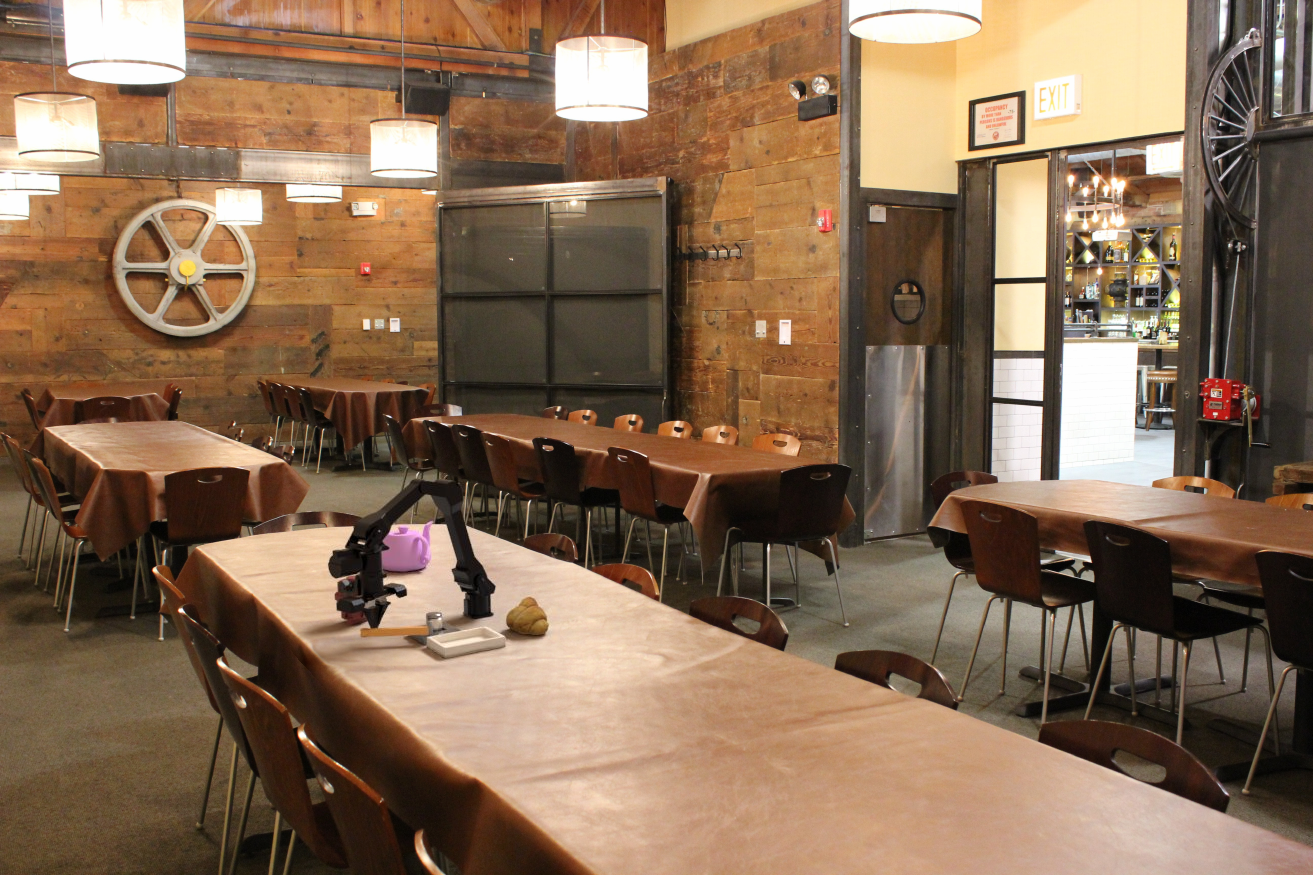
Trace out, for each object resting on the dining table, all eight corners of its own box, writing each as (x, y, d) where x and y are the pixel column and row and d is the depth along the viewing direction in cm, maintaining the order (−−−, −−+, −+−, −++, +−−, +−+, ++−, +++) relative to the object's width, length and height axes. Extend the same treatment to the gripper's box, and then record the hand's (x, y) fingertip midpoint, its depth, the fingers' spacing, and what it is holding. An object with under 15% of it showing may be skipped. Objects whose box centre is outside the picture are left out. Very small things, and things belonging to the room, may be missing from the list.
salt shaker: (438, 633, 278) (438, 610, 278) (445, 637, 275) (444, 614, 274) (424, 636, 276) (423, 613, 275) (430, 639, 273) (429, 616, 272)
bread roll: (556, 634, 277) (556, 604, 276) (523, 641, 272) (522, 610, 271) (533, 623, 288) (532, 593, 287) (500, 629, 282) (499, 599, 281)
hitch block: (444, 628, 282) (444, 621, 282) (460, 637, 274) (460, 630, 274) (408, 635, 277) (408, 627, 276) (423, 644, 269) (423, 637, 268)
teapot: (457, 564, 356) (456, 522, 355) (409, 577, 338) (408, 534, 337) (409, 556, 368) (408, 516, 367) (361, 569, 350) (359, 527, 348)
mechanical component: (380, 617, 293) (363, 628, 283) (346, 615, 295) (328, 626, 285) (379, 573, 292) (361, 582, 282) (345, 571, 294) (326, 580, 284)
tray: (485, 635, 276) (485, 626, 276) (505, 646, 267) (505, 636, 267) (427, 646, 267) (426, 637, 267) (445, 658, 258) (445, 648, 258)
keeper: (361, 635, 269) (360, 623, 268) (433, 632, 271) (433, 620, 271) (360, 637, 267) (359, 625, 266) (432, 635, 269) (432, 622, 269)
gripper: (376, 558, 280) (379, 616, 282) (319, 574, 264) (322, 636, 266) (407, 563, 274) (410, 622, 276) (350, 580, 258) (354, 643, 260)
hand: (374, 630), depth 270 cm, fingers closed
